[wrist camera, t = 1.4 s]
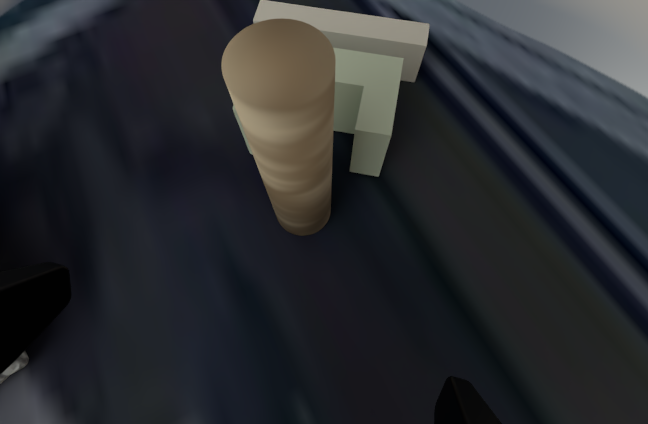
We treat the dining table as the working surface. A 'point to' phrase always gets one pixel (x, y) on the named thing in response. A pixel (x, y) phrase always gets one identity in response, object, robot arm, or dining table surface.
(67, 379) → the dining table surface
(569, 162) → the dining table surface
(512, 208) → the dining table surface
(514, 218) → the dining table surface
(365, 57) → the block
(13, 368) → the towel
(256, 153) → the dowel
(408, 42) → the kerb
